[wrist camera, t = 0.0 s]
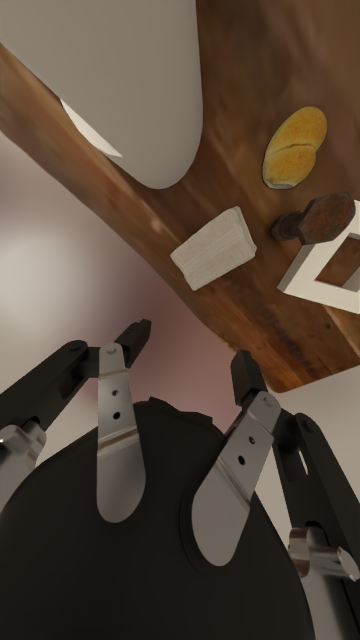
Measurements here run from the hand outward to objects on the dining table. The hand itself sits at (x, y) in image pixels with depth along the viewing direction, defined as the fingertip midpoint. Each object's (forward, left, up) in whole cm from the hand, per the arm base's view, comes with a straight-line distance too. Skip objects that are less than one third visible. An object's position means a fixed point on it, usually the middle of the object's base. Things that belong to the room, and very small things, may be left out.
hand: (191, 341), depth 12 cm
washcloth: (-5, 0, -30) cm, 30 cm away
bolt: (-13, +12, -30) cm, 34 cm away
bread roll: (-23, +8, -30) cm, 38 cm away
